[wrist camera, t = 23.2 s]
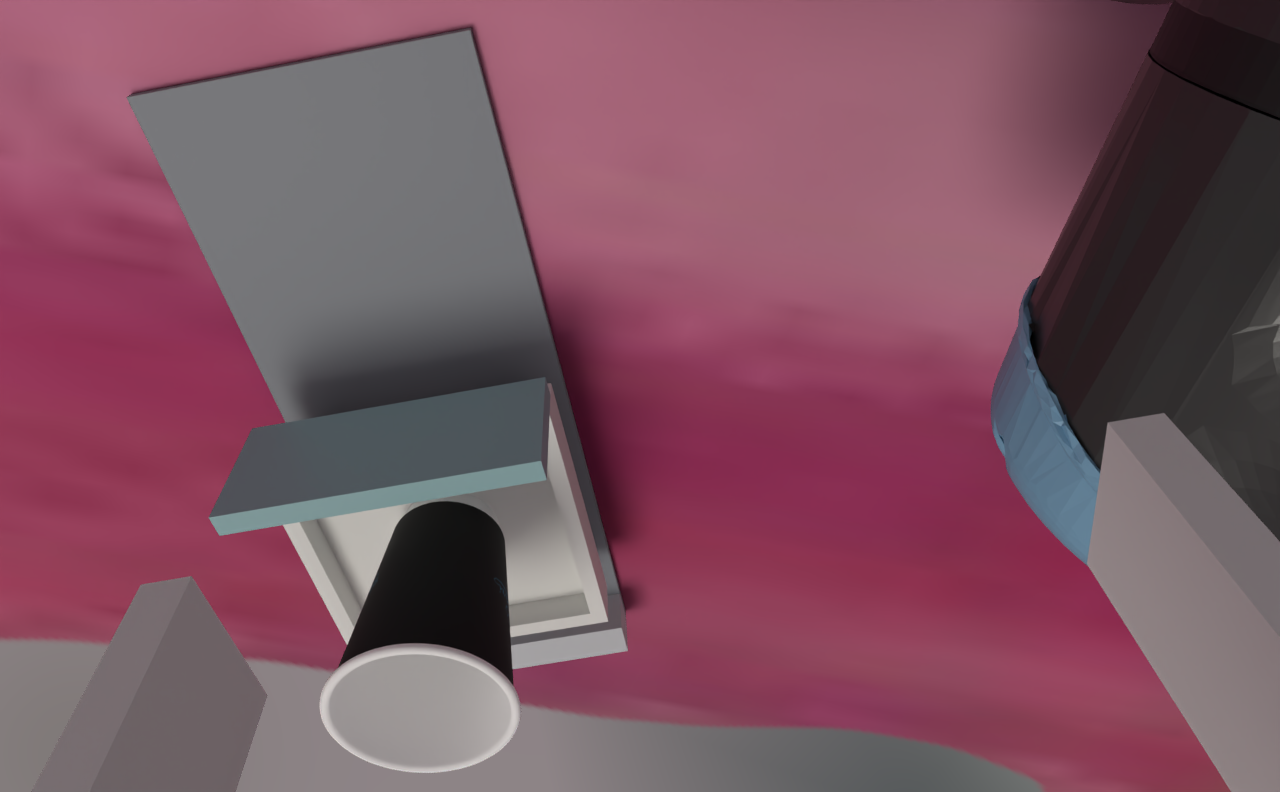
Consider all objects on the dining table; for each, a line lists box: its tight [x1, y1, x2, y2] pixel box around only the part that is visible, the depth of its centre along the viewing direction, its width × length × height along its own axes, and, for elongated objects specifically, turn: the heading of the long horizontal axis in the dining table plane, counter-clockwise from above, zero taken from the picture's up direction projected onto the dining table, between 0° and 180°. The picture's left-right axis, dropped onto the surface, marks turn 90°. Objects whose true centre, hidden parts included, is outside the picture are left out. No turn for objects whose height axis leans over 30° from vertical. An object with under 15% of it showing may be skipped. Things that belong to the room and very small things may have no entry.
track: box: [127, 28, 628, 669], centre depth 45 cm, size 14×34×3 cm, turn 10°
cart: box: [209, 377, 608, 645], centre depth 44 cm, size 14×15×9 cm
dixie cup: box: [320, 494, 521, 773], centre depth 41 cm, size 8×8×11 cm
